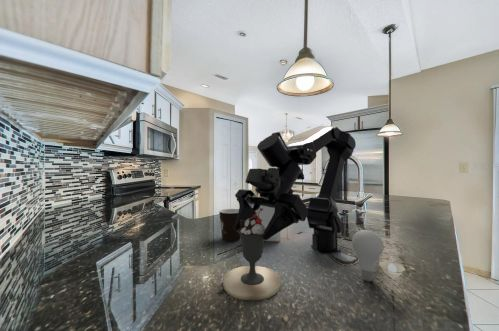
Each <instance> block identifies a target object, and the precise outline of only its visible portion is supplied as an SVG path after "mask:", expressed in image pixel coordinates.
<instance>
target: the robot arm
mask: <svg viewBox="0 0 499 331" xmlns="http://www.w3.org/2000/svg"><path fill="white" fill-rule="evenodd" d="M324 147H325V148H326V152H327V154H328V156H329V159H328V162H327V165H326V169H325V172H324V176H323V179H322V183H321V186H320V190H319V193H318V195H317V196H316V197H311V198H310V200H309V203H308V206H307V205H306V204H305V203H304V201H303V199H302V198H301V197H300V195H299V194H298V193H297V194H296V193H294V190H293V189H292V188H293V187H294V185H295V183H296V181H297V180H299V181H300V180H304V179H305V175H304V170H303V169H302V168H301V166H309V165H311V164H312V163H313V162H314V160H315V159H316V158H317V153H318V152H319V151H320V150H322V149H323V148H324ZM355 148H356V140H355V138H354V137H353V136H352V134H351V133H348V132H346V131H343V130H340V129H339V127H337V126H330V127H323V128H322V129H320V130H319V131H318V132H317V133H314V134H313V135H311V136H310V137H308V138H307V139H305V140H304V141H299V142H295V143H290V144H286V142H285V141H284V138H283V137H282V134H281V133H280V131H278V132H272V133H271V134H270V135H269V136H267V137H265V138H264V139H263V140H261V141H259V143H257V150H258V152H259V153H260V154H261V156H262V157H263V159H264V160H265V161H266V163H267V165H268V166H269V167H268V169H263V168H249V171H248V173H247V176H246V179H245V183H246V184H249V185H251V186H253V187H255V189H254V190H255V192H256V193H257V194H259V196H258V195H256V194H255V192H253V190H252V189H241V188H240V189H238V191H237V192H236V193H235V195H234V197H235V199H236V201H237V202H238V204H239V206H238V207H239V208H238V209H239V212H238V216H237V219H236V223H235V226H234V229H235V230H236V231H237V230H239V229H240V228H241V225H240V220H244V221H246V220H247V219H249V218H252V217H253V215H255V214H256V212H255V211H256V210H258V209H259V208H260V205H262V206H268V207H271V208H275V212H274V215H273V216H272V218H271V220H270V222H269V224H268V226H267V227H266V229H265V231H264V234H263V236H262V238H263V239H264V240H268V239H269V238H271V237H272V236H274V235H275V234H277V233H278V232H280V231H283V230H284V229H286V228H289V227H290V226H291V225H293V224H298V223H299V221H300V222H305V221H306V219H307V224H308V228H309V229H313V233H312V237H311V238H312V240H311V241H312V244H311V245H310V248H312V249H314V250H315V251H316V252H319V253H320V254H323V255H325V254H326V255H327V254H335V253H342V252H341V251H342V250H341V249H339V248H338V234H340V233H342V231H343V225H344V224H343V221H342V220H341V218H340V216H339V215H338V214H339V210H338V206H337V204H336V202H335V201H336V197H337V193H338V190H339V189H338V188H339V186H340V182H341V179H342V178H341V177H342V174H343V170H344V166H345V163H346V161H347V160H348V159H349V158H351V157H352V155H353V153H354V150H355Z"/></svg>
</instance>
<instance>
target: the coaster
mask: <svg viewBox="0 0 499 331" xmlns="http://www.w3.org/2000/svg"><path fill="white" fill-rule="evenodd" d="M249 270H250V265H244V266H239V267H236V268H233V269H230V270H229V271H228V272H226V273H225V274H224V276H223V279H222V280H223V283H222V286H223V289H224V292H226V293H227V294H228V295H229V296H231V297H232V298H235V299H237V300H243V301H261V300H265V299H268V298H271V297H272V296H275V294H277V293H278V292H279V290H280V288H281V280H280V279H281V278H280V276H279V274H278V273H277V272H276V271H274V270H272V269H271V268H268V267H264V266H258V265H255V271H256V273H258V274H261V275H262V276H263V277H264V281H263V282H262V283H260V284H256V285H249V284H245V283H243V282H242V281H241V276H242V275H244V274H246V273H249Z"/></svg>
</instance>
